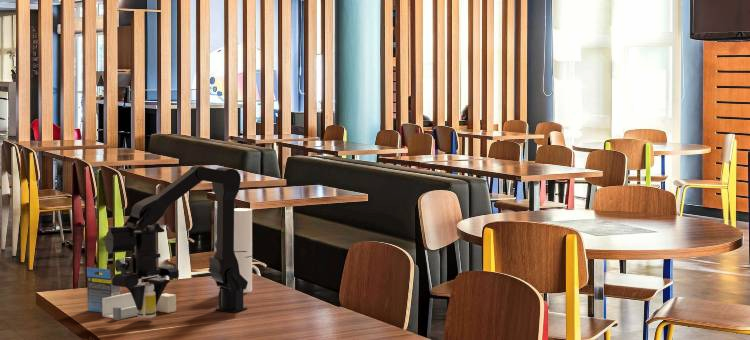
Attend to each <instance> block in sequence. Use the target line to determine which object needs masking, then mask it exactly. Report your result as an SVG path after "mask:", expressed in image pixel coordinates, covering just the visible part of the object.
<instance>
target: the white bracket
mask: <svg viewBox="0 0 750 340" xmlns="http://www.w3.org/2000/svg"><path fill="white" fill-rule="evenodd" d="M176 311H177V295H176V294H173V293H167V292H165V293H162V294H161V296H160V299H159V301H158V303H157V305H156V312H161V313H165V314H166V313H168V314H169V313H173V312H176ZM101 316H102V317H103V318H108V319H109V318H110V319H112V320H114V321H115V320H116V321H121V320H125V319H128V318H133V317H136V316H137V317H138V310H137V307H136V305H135V302H134V299H133V297H132V294H131V293H130V292H126V293H122V294H121V293H120V295H116V296H111V297H106V298H102V315H101Z"/></svg>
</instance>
